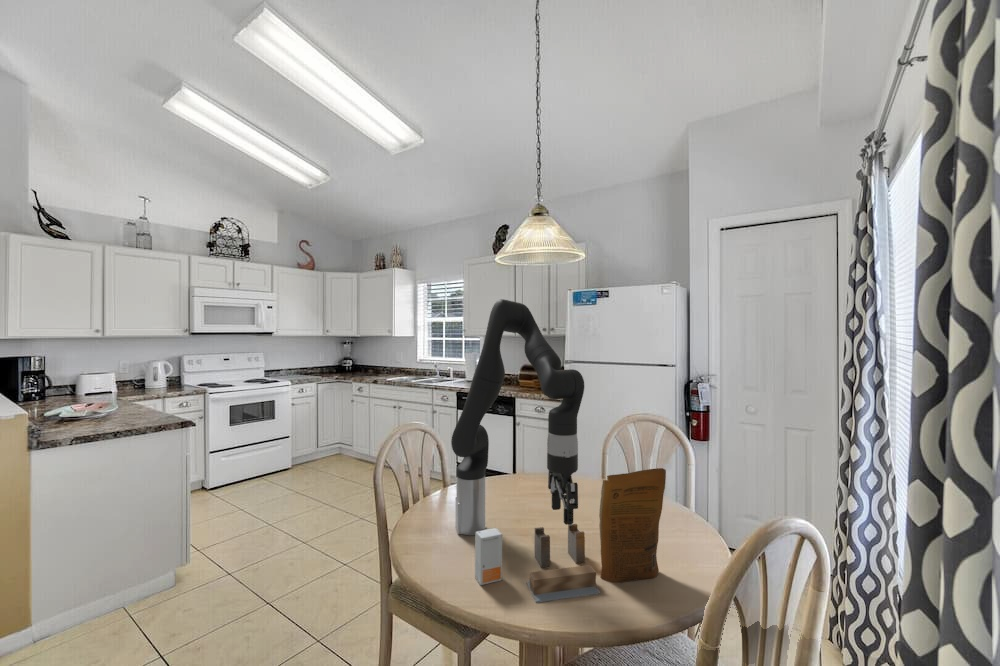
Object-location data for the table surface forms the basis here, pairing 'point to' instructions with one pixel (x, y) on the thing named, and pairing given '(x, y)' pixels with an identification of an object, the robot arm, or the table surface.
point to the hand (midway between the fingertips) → (562, 516)
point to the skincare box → (488, 556)
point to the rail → (562, 579)
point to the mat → (564, 594)
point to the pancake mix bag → (631, 524)
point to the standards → (574, 546)
